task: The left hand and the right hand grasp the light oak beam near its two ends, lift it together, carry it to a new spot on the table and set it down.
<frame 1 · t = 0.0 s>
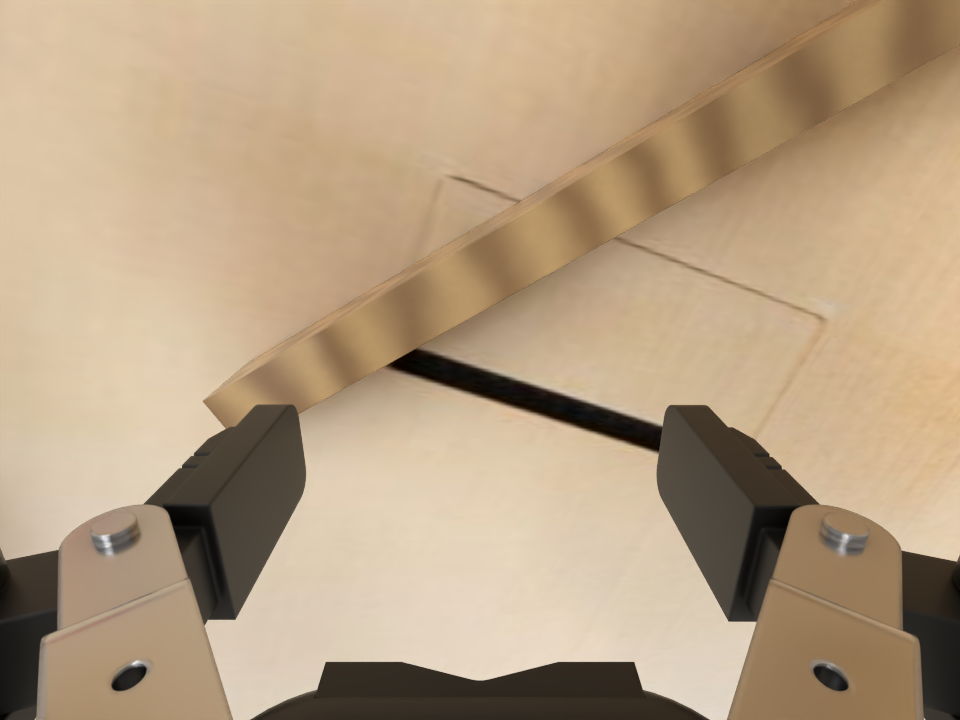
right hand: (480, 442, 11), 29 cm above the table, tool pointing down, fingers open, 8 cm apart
beam: (686, 137, 36), on the table
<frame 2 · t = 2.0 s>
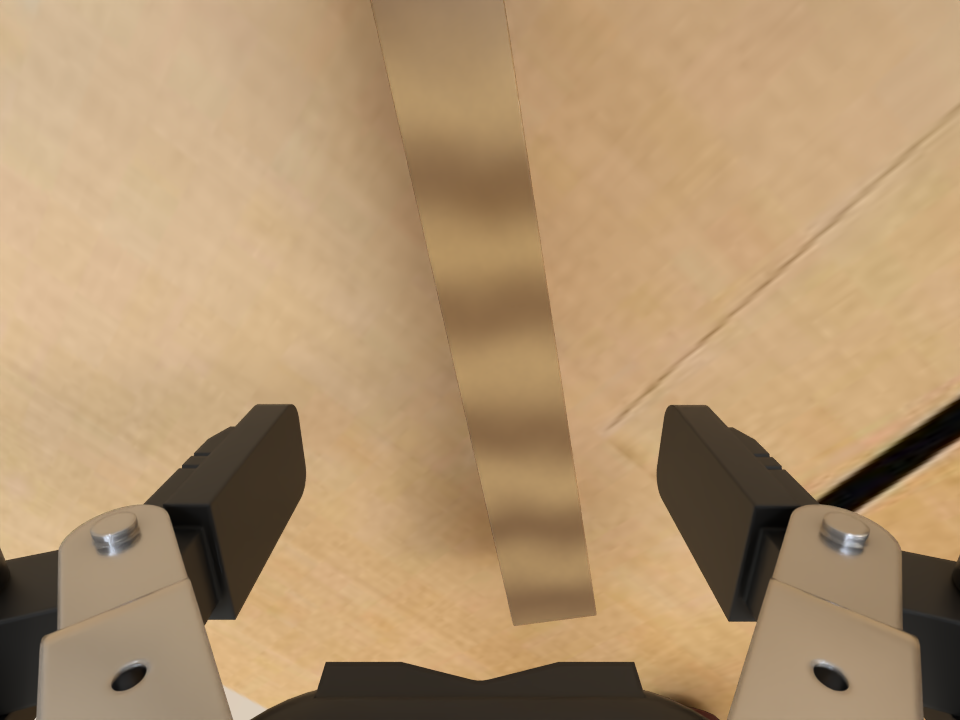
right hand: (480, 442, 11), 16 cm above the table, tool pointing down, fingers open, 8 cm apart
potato: (675, 717, 38), on the table
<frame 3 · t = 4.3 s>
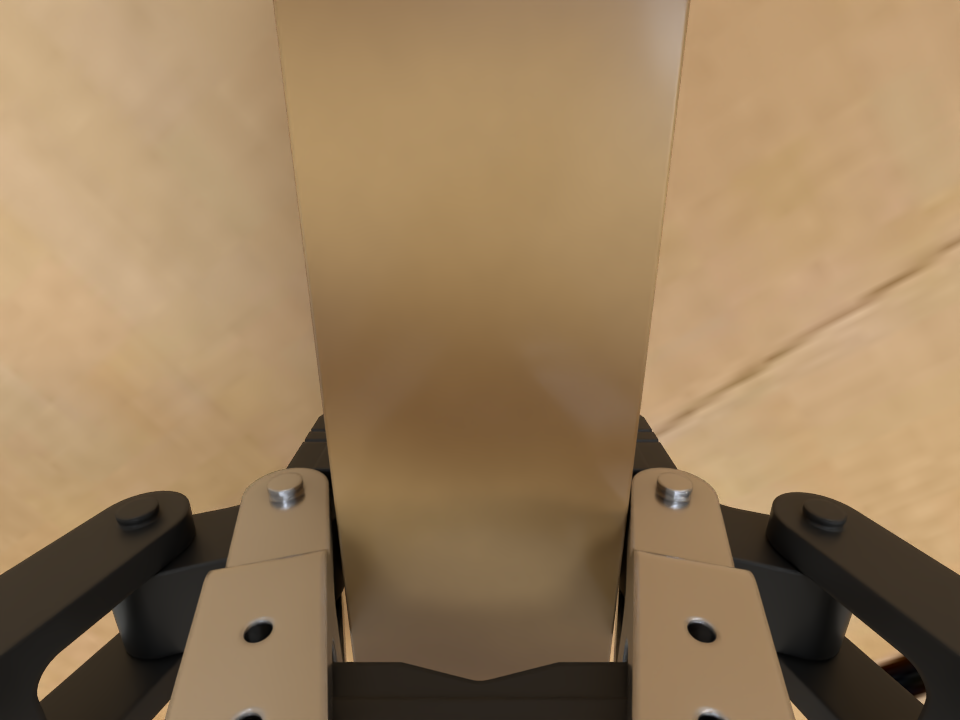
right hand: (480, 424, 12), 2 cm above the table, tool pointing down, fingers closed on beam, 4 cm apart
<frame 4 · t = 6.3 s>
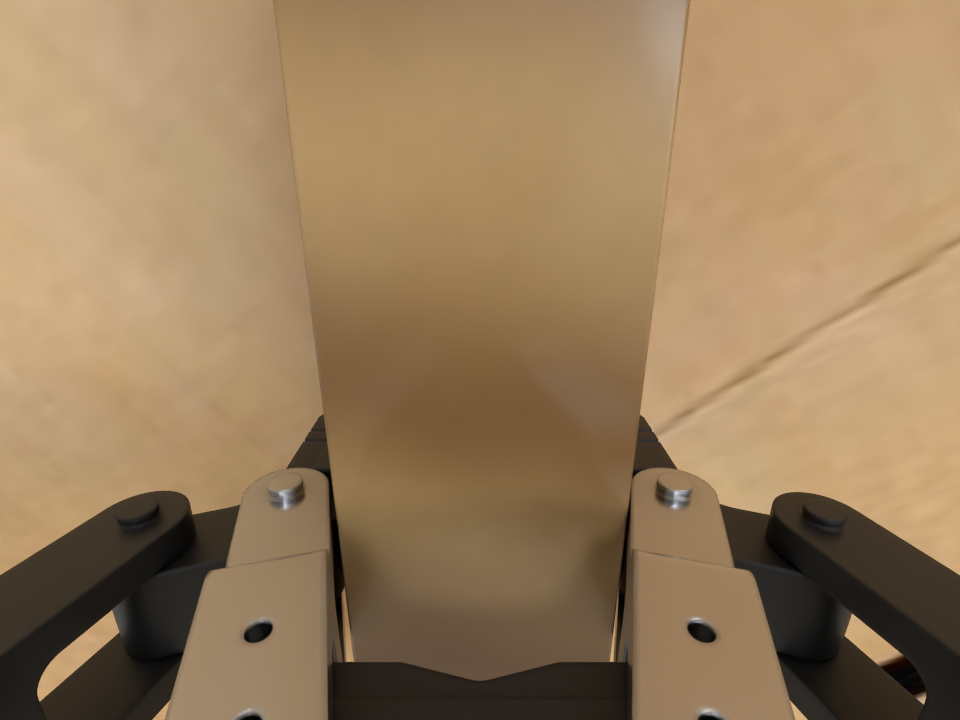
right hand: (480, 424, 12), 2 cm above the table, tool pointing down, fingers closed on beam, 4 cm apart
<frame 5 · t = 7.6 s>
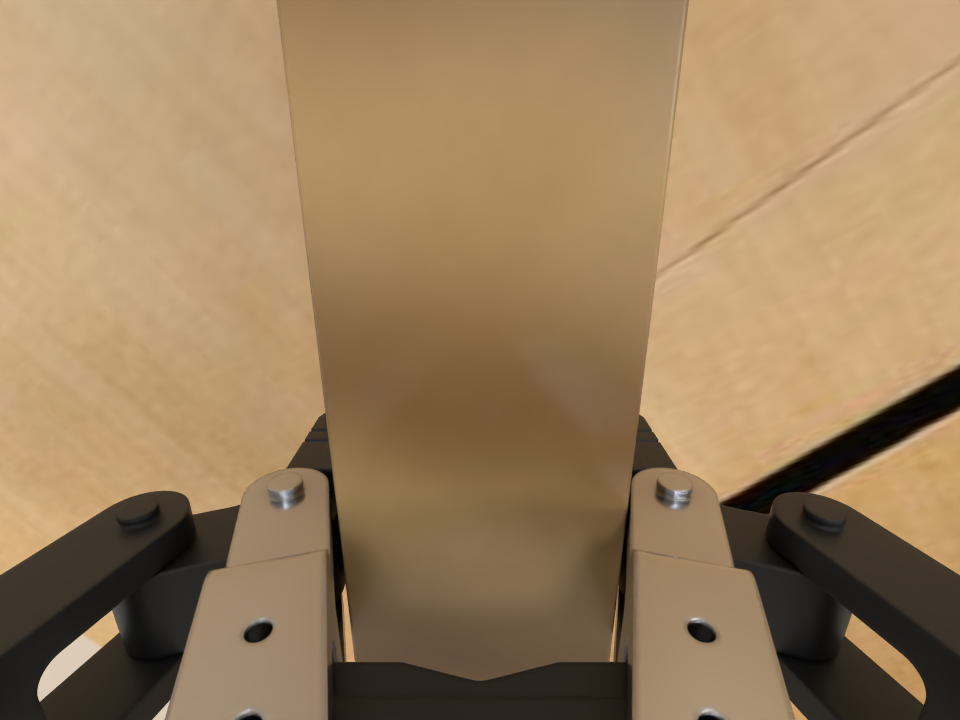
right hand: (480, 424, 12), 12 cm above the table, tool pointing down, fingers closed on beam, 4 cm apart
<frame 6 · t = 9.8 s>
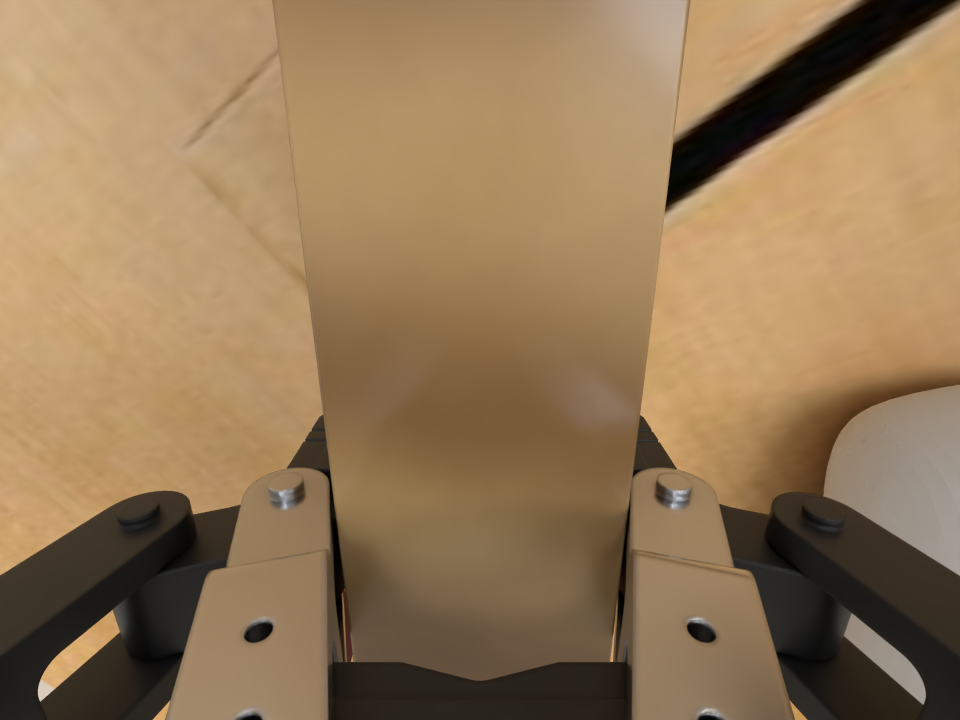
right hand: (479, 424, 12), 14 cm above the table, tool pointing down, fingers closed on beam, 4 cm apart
when the left hand's fingers open (5 cm above the table, at t = 11.3 s): beam drops 2 cm, on the table.
when the right hand's fingers open (4 cm above the table, at t = 11.3 s): beam drops 2 cm, on the table.
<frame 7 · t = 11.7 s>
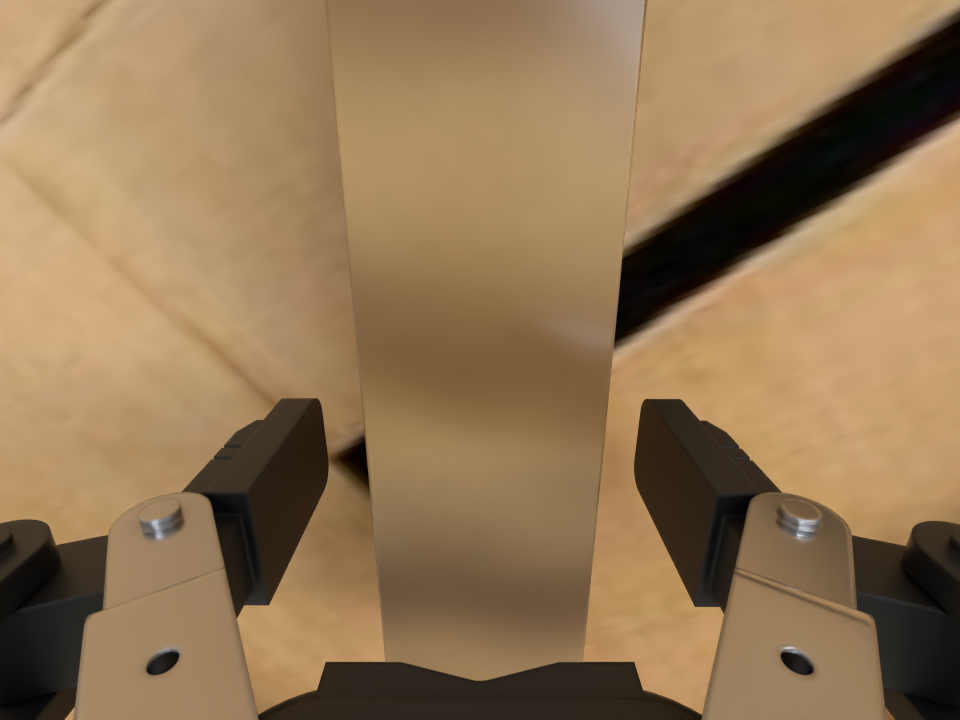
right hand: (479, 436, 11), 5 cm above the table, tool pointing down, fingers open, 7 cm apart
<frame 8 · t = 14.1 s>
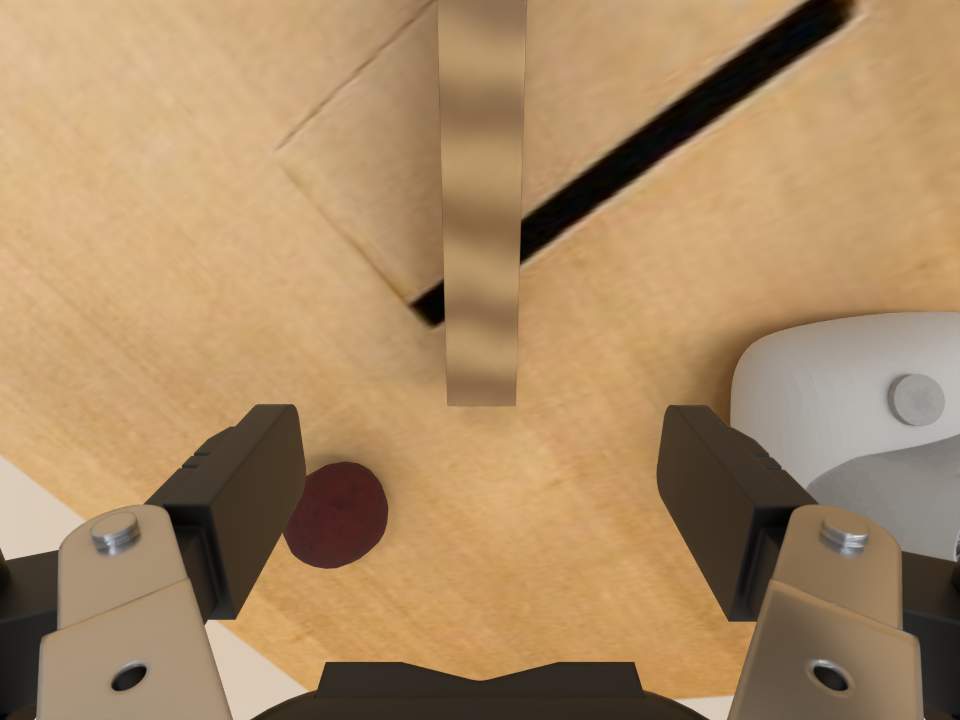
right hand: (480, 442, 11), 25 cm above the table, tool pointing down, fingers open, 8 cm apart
grey rounded piece: (864, 394, 38), on the table
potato: (349, 484, 41), on the table
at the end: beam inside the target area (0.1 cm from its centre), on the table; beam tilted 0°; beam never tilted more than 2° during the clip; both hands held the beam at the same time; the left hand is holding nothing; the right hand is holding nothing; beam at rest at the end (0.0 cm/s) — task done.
